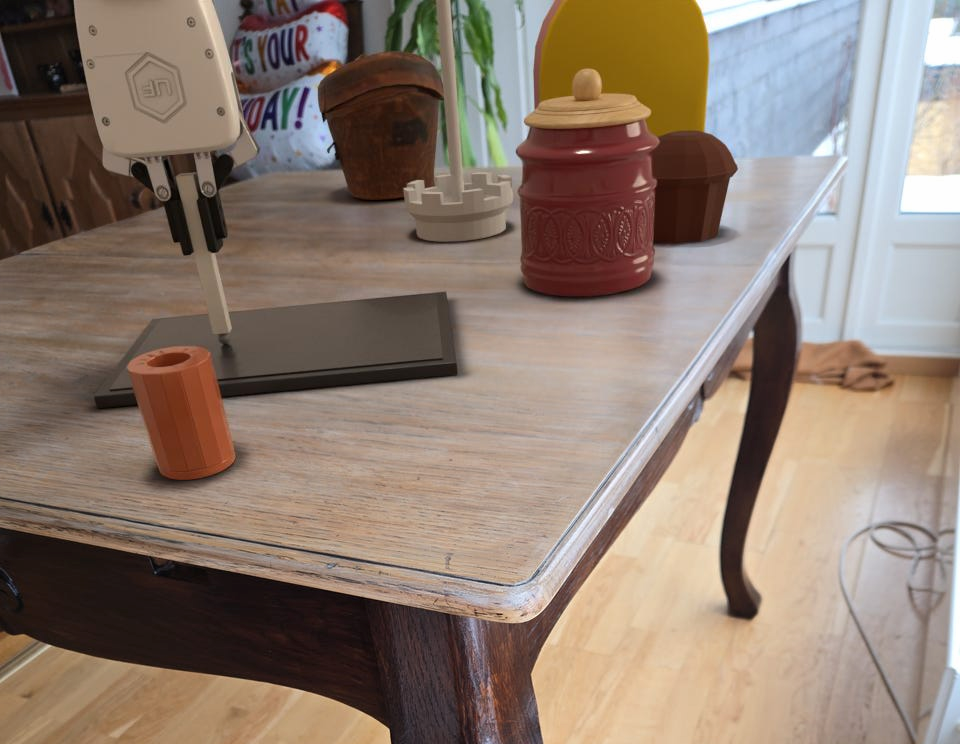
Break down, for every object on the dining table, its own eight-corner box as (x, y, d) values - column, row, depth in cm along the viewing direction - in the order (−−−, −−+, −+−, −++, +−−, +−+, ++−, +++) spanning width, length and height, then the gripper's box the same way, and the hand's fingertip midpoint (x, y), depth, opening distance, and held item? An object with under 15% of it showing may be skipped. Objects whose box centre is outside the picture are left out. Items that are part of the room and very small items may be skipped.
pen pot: (151, 483, 57) (117, 377, 53) (168, 450, 61) (137, 349, 57) (229, 476, 57) (201, 369, 53) (240, 443, 61) (215, 342, 57)
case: (381, 178, 144) (365, 45, 134) (479, 184, 134) (470, 40, 123) (301, 201, 133) (276, 58, 123) (401, 209, 123) (384, 54, 112)
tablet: (97, 409, 69) (92, 395, 68) (154, 329, 85) (151, 317, 84) (457, 374, 69) (456, 360, 68) (447, 301, 85) (446, 290, 85)
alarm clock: (685, 180, 125) (699, -58, 109) (702, 192, 117) (719, -61, 102) (536, 193, 125) (529, -43, 109) (543, 206, 117) (536, -45, 102)
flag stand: (510, 240, 103) (494, -93, 86) (400, 246, 105) (362, -80, 87) (517, 216, 114) (504, -86, 96) (417, 221, 115) (386, -74, 98)
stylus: (215, 347, 75) (174, 176, 68) (218, 342, 77) (178, 173, 69) (232, 345, 75) (193, 174, 68) (234, 340, 77) (196, 172, 69)
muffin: (606, 237, 101) (607, 137, 95) (671, 218, 107) (676, 123, 101) (688, 252, 94) (695, 144, 88) (753, 231, 99) (764, 128, 93)
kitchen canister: (619, 304, 81) (624, 75, 70) (496, 292, 87) (484, 79, 76) (674, 267, 89) (685, 58, 79) (559, 258, 95) (556, 63, 85)
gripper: (2, -27, 58) (94, 271, 69) (242, -47, 58) (295, 252, 69) (39, -25, 64) (119, 248, 75) (257, -43, 64) (304, 231, 75)
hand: (203, 248), depth 72 cm, fingers closed on stylus, 1 cm apart
